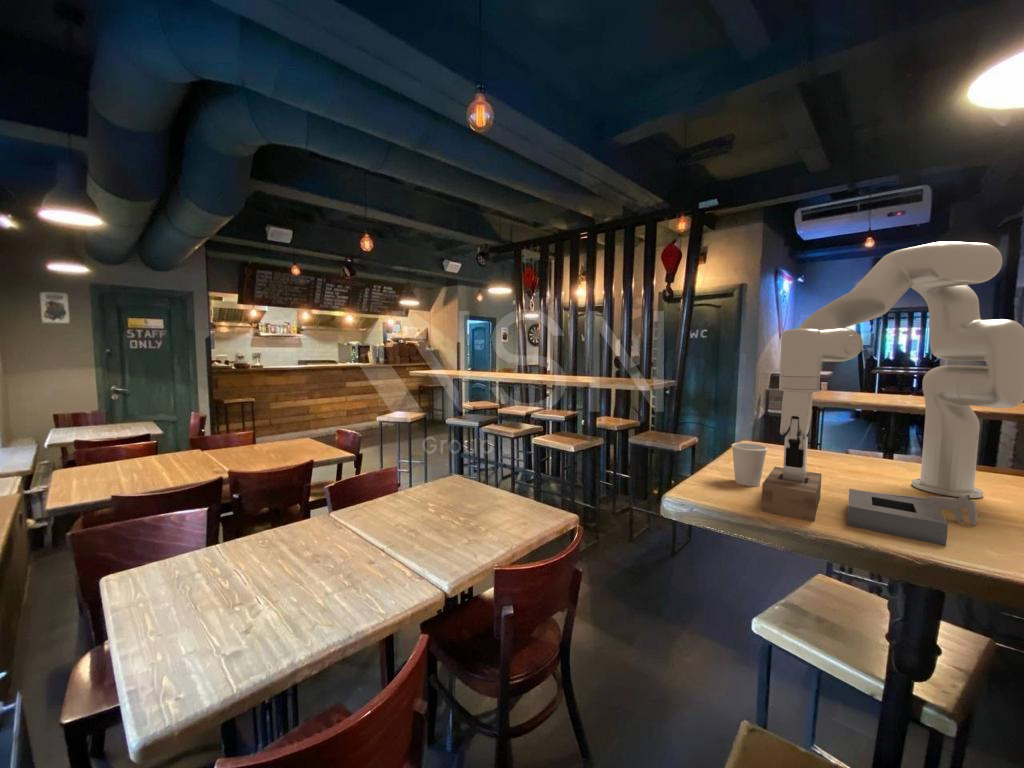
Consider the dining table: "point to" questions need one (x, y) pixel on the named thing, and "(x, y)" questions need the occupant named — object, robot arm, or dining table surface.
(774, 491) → the slotted block
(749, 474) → the dixie cup
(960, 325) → the robot arm
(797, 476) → the rectangular block
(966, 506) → the caliper
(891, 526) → the seat block
